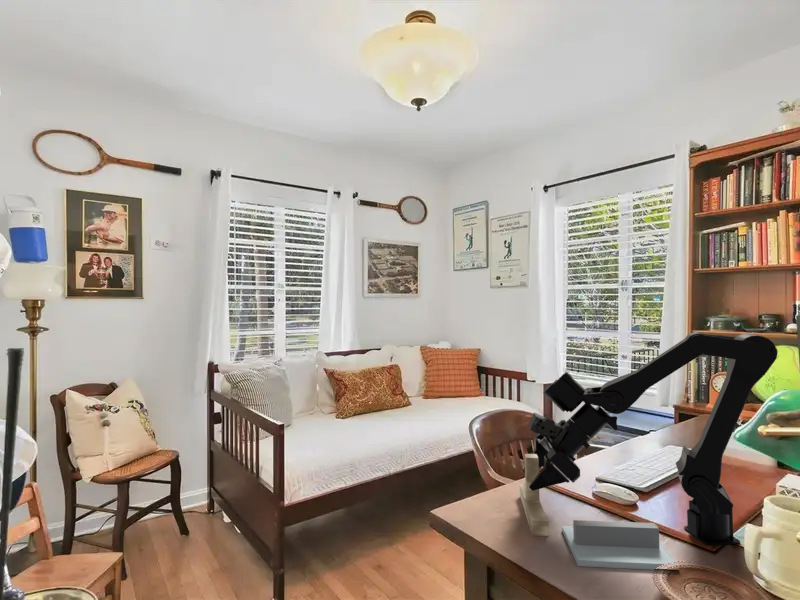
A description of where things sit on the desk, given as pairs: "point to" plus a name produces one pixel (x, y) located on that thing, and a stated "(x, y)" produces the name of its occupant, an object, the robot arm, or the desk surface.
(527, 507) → the t bar
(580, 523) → the stand
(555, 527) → the desk surface
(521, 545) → the desk surface
